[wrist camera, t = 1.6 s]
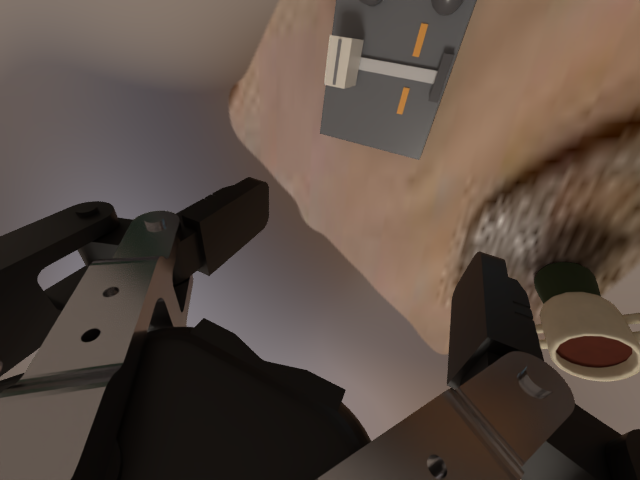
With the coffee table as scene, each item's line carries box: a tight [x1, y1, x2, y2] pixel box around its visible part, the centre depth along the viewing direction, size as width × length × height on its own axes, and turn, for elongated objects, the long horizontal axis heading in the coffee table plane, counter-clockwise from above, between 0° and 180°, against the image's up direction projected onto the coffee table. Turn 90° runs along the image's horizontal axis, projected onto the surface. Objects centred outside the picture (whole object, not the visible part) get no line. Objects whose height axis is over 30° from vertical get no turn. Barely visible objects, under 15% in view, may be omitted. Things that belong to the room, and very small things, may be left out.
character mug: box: [534, 262, 640, 381], centre depth 32 cm, size 11×7×13 cm, turn 129°
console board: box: [320, 0, 477, 160], centre depth 31 cm, size 18×14×4 cm
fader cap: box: [324, 35, 364, 89], centre depth 30 cm, size 4×2×4 cm, turn 173°
